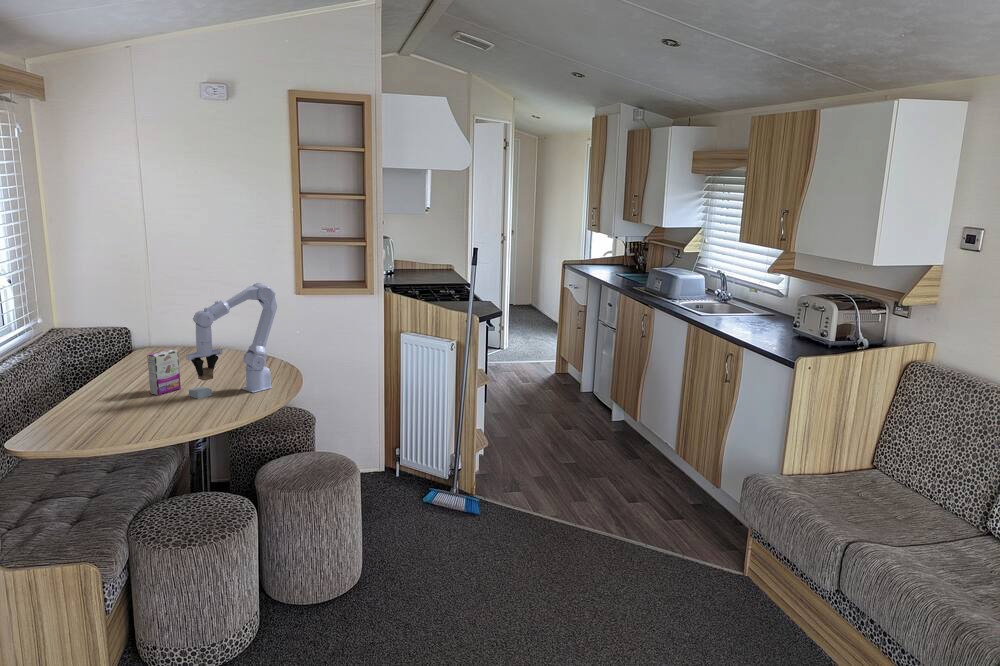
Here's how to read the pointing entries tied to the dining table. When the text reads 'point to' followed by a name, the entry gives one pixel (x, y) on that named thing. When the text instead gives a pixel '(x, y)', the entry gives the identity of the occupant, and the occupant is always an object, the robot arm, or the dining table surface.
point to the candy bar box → (164, 372)
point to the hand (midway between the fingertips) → (205, 374)
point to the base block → (200, 392)
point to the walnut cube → (206, 374)
